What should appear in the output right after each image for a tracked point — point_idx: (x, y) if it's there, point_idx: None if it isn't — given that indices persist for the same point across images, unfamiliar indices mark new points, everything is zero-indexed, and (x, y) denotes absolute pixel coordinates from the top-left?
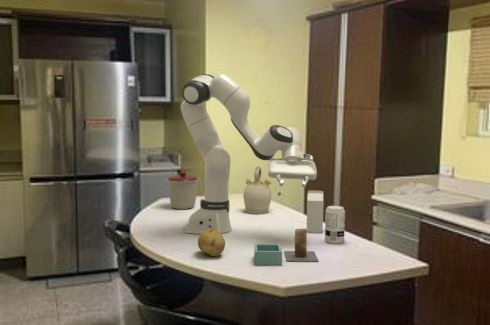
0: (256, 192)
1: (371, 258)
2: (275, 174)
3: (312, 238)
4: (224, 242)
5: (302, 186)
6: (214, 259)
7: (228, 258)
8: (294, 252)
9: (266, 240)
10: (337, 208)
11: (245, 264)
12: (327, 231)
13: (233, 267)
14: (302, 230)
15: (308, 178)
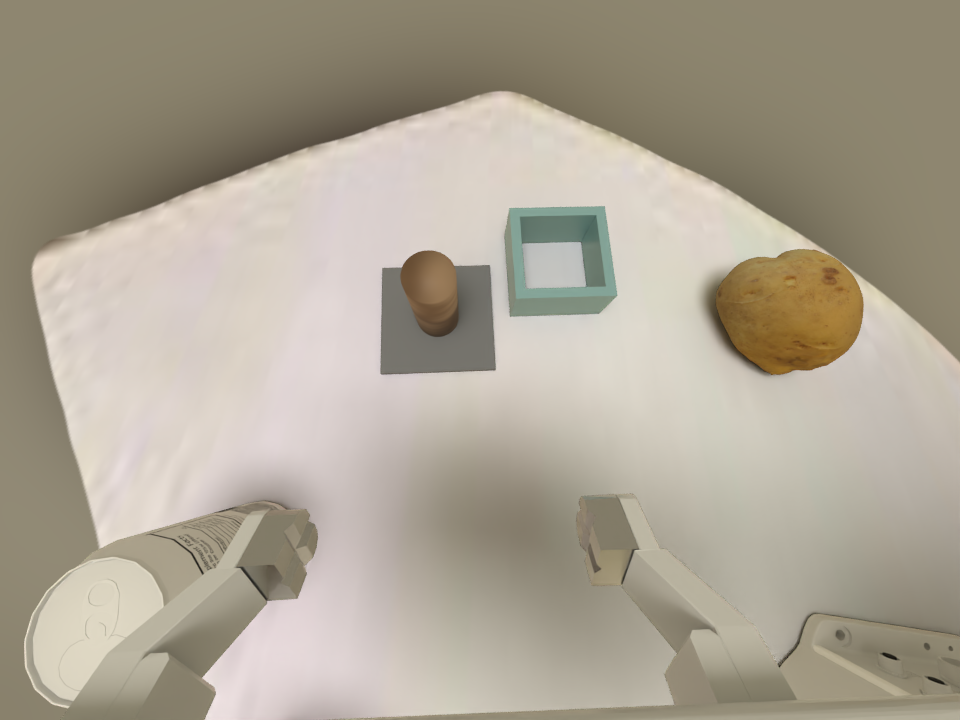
0: None
1: (185, 317)
2: (834, 706)
3: (354, 595)
4: (733, 283)
5: (312, 525)
6: (722, 277)
7: (680, 289)
8: (457, 352)
9: (569, 537)
10: (91, 600)
11: (616, 237)
12: None
13: (648, 211)
14: (421, 270)
15: (112, 656)
